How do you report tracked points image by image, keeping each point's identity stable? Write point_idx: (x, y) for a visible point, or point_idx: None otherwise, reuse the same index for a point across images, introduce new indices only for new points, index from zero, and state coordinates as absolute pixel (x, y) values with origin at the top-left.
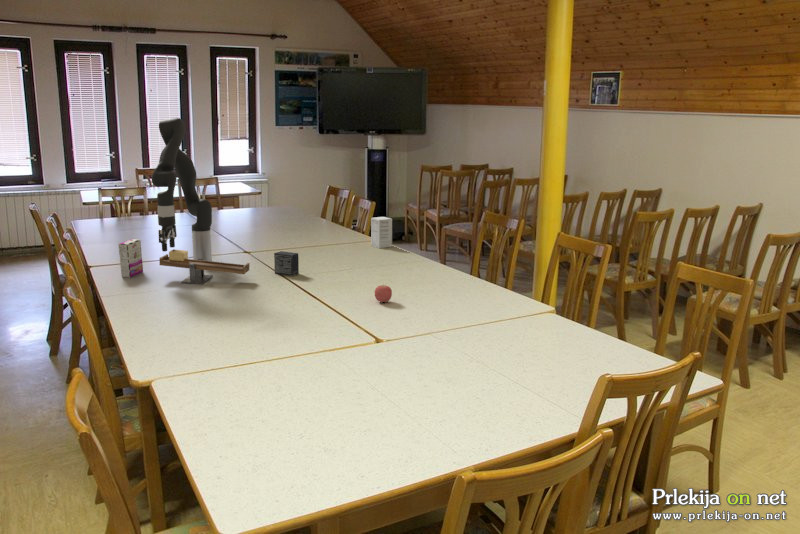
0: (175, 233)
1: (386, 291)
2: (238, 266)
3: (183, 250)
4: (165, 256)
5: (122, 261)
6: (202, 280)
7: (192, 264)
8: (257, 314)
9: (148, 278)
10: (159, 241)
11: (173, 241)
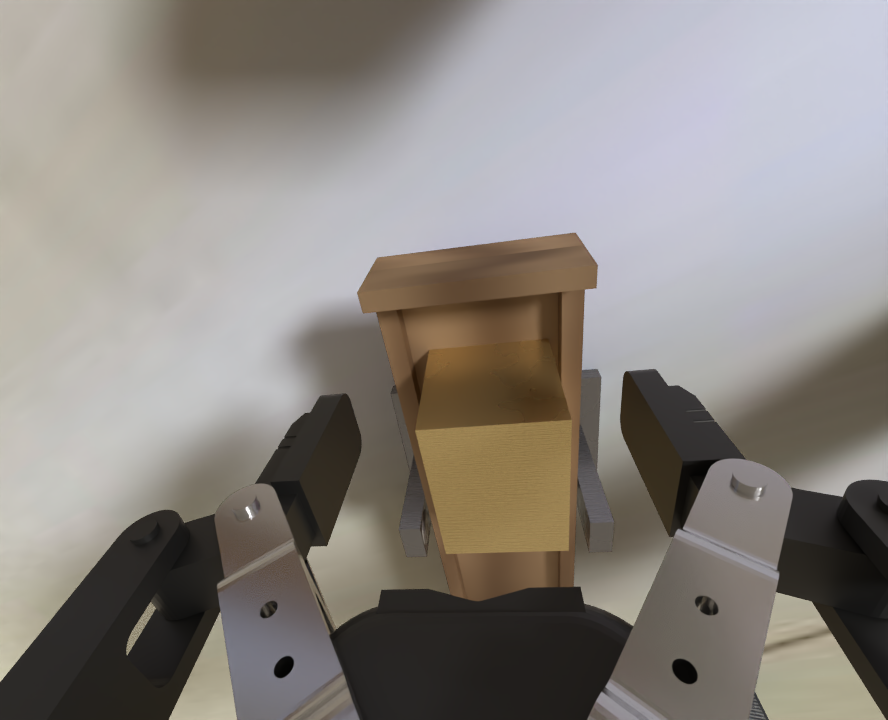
0: (871, 682)
1: None
2: None
3: (565, 518)
4: (496, 294)
5: None
6: None
7: (404, 547)
8: (186, 693)
9: (451, 49)
10: (124, 547)
11: (656, 500)
